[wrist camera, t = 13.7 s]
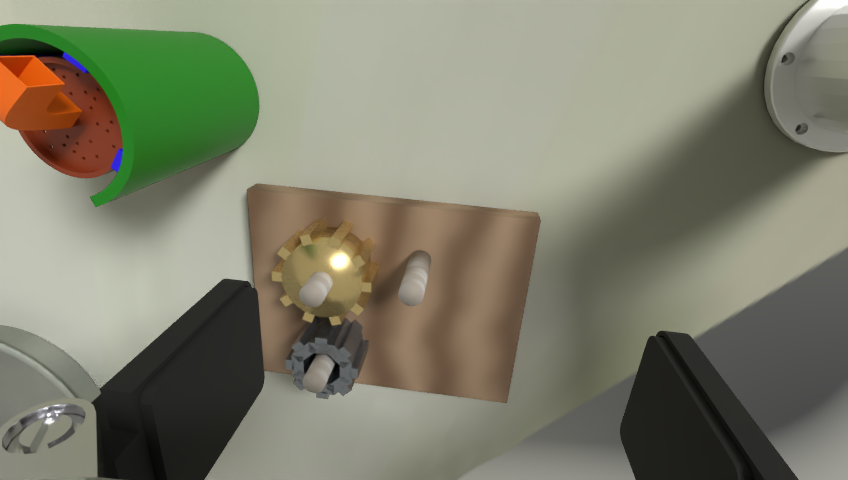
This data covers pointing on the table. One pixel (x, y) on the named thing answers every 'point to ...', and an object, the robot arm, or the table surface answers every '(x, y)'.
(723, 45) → the table surface
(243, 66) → the motor
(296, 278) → the brass gear
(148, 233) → the table surface
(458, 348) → the board
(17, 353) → the cake pan
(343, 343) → the steel gear
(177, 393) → the robot arm
